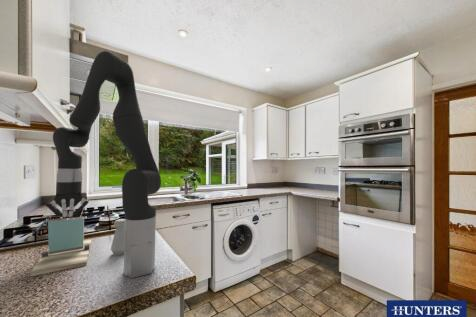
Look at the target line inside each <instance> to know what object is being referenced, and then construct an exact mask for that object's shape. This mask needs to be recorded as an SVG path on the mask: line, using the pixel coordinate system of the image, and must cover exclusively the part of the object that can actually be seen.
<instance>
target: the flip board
mask: <svg viewBox="0 0 476 317" xmlns="http://www.w3.org/2000/svg"><path fill="white" fill-rule="evenodd" d="M92 242H93V238H86V239H84V245H83V246H84V248H83V249H78V250H72V251H66V252H60V253H54V254H49V247H47V249H46V250H43V251H42V252H41V257H40V259H39V260H38V261H37V263H36V264H34V267H33V268H32V269H31V270H30V272H29V277H34V276H38V275H44V274H48V273H49V274H50V273H54V272H59V271H64V270H68V269H73V268H78V267H83V266H84V267H85V266H87V264H88V260H89V255H90V251H91V247H92Z"/></svg>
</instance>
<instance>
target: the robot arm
mask: <svg viewBox="0 0 476 317" xmlns="http://www.w3.org/2000/svg"><path fill="white" fill-rule="evenodd" d="M134 76H135V75H134V71H133V68H132V66H131V65H130V63H128V62H127V61H125V59H122V58H120V57H119V56H117V55H116V54H113V53H112V52H109V51H106V50H105V51H100V52H99V53H98V54H97V55H96V57H95V58H94V60H93V62H92V64H91V66H90V70H89V72H88V77H86V78H87V79H86V82H85V84H84V88H83V91H82V93H81V97H80V99H79V100H78V103H77V104H76V106H75V108H74V110H73V111H72V113H71V114H70V116H69V118H68V120H69V122H70V124H71V125H72V126H74V127H76V128H69V127H65V126H64V127H63V126H62V127H57V128H56V129H55V130H54V131H53V133H52V140H53V146H54V147H55V151H56V154H57V159H58V160H57V171H56V172H57V173H56V180H55V182H56V184H55V186H56V187H55V196H54V197H53V199H52V201H50V202H47V203H46V205H45V206H46V208H47V209H49V210H50V211H51V212H52V213H53V214H54V215H56V217H62V219H64V218H74V216H76V215H79V213H81V211H82V210H83V209H84V208H85V207H86V206H87V205H88V204H89V202H90V201H89V199H86V198H84V195H83V194H82V188H83V187H82V186H83V185H82V184H83V171H82V168H83V167H82V163H83V158H82V155H81V154H80V153H78V152H77V153H76V152H74V151H72V149H71V148H83V147H85V146H86V145H87V144H88V143H89V139H90V135H91V134H90V133H91V130H92V126H93V125H94V123H95V121H96V120H97V118H98V116H99V114H100V112H101V98H100V94H101V93H100V90H101V88H102V86H103V84H104V83H105V81H107V82H109V83H112V84H114V85H115V87H116V89H117V94H118V102H117V103H116V105H115V107H114V109H113V113H112V121H113V125H114V130H115V133H116V136H117V138H118V140H119V141H120V142H121V143H122V145H123V147H125V149H126V150H127V151H128V153H129V154H130V155H131V157H132V159H133V161H134V165H135V167H136V168H132V169H129V170H127V171H126V172H125V174H124V176H123V178H122V182H121V185H122V186H121V192H122V195H121V196H122V197H121V199H122V201H121V202H122V209H123V212H124V219H125V236H124V254H123V275H124V276H125V277H128V278H129V279H133V278H138V277H141V276H145V275H149V274H152V273H153V270H155V262H156V228H157V227H156V226H157V225H156V224H157V220H156V219H157V215H156V214H157V209H156V207H155V206H153V205H151V204H150V203H149V196H151V195H154V194H156V193H158V192H159V191H160V188H161V185H162V177H161V174H160V171H159V168H158V166H157V164H156V160H155V158H154V156H153V152H152V149H151V146H150V142H149V139H148V138H149V137H148V135H147V131H146V126H145V122H144V118H143V115H142V112H141V108H140V105H139V99H138V97H137V96H138V95H137V91H136V84H135V77H134ZM79 203H80V206H79V207H78V208H77V209H76V210H75V207H77V206H78V204H79ZM57 205H58V206H59V207H60V208H61V210H60V209H59V208H58V207H57Z"/></svg>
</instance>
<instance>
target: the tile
mask: <svg viewBox="0 0 476 317" xmlns="http://www.w3.org/2000/svg"><path fill="white" fill-rule="evenodd" d="M47 231H48V232H47V233H48V234H47V235H48V248H49V254H54V253H60V252H66V251H72V250H78V249H83V248H84V246H83V245H84V240H85V236H84V235H85V216H75V217H74V216H73V218H64V219H63V218H57V219H49V220H48V221H47Z"/></svg>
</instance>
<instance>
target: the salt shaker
mask: <svg viewBox="0 0 476 317" xmlns="http://www.w3.org/2000/svg"><path fill="white" fill-rule="evenodd" d="M113 226H114V227H115V231H114V235H113V239H112V243H111V247H110V250H111V252H112V254H113V256H124V236H125V218H120V219H116V220H115V221H114V222H113Z"/></svg>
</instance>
